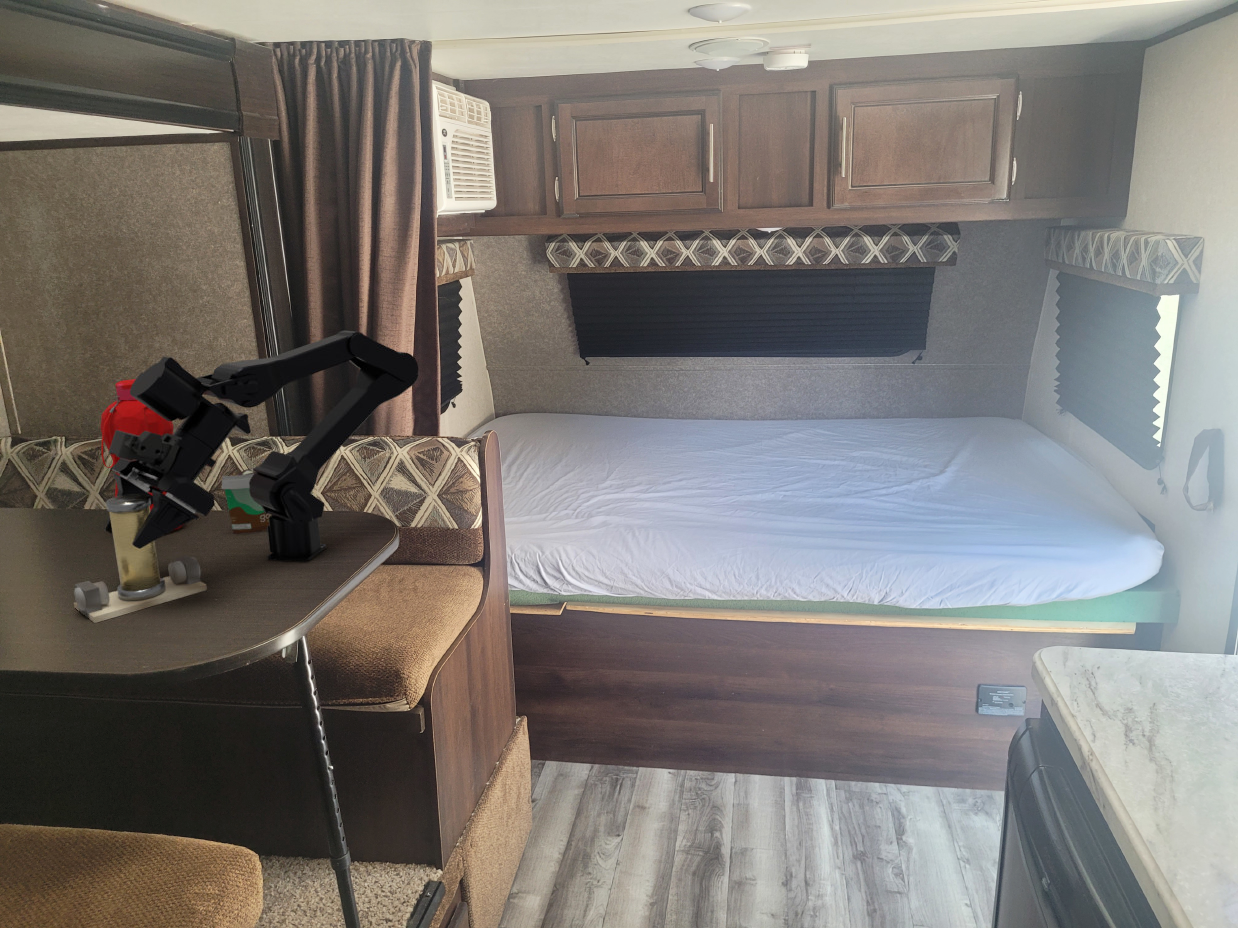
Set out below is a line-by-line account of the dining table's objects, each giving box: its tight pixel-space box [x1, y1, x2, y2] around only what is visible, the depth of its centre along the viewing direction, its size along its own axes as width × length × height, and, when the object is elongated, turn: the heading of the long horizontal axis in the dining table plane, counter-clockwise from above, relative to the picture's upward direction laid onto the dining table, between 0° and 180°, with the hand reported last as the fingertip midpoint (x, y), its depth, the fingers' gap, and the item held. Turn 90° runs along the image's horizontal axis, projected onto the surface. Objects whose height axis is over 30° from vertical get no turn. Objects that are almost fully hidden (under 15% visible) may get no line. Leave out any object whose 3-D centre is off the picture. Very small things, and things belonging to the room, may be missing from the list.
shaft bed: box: [73, 554, 208, 624], centre depth 116 cm, size 15×7×4 cm, turn 139°
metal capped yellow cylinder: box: [105, 494, 166, 602], centre depth 115 cm, size 6×6×13 cm
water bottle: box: [99, 378, 184, 532], centre depth 141 cm, size 9×11×25 cm
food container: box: [221, 458, 272, 535], centre depth 146 cm, size 12×6×10 cm, turn 170°
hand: (121, 539), depth 114 cm, fingers open, 9 cm apart
